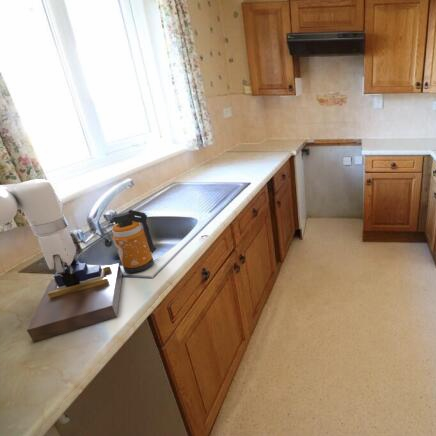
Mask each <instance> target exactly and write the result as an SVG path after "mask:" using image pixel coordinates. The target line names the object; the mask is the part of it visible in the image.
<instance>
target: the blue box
mask: <svg viewBox="0 0 436 436" xmlns="http://www.w3.org/2000/svg"><path fill="white" fill-rule="evenodd" d="M77 264H78V263H77ZM101 267H102V265H101V264H98V265H95V266H90V267H88V265H87V263H86V262H83V263H79V264H78V265H74V266H72V269H73V272H75V273H76V275H77V277H78V280H79V282H80V284H82V283H86V282H90V281H93V280H97V279H101V278H104V273H105V272H104V269H102V268H101ZM64 269H68V267H66V268H65V267H64ZM68 270H69V269H68ZM53 279H55V280H56V282H57V285H58V286H57V290H58V289H62V288H66V286H65V283H64V281H63V279H62V277H61V276H60V274H58V273H57V270H55V274H54V275H53Z"/></svg>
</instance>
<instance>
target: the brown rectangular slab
mask: <svg viewBox="0 0 436 436" xmlns="http://www.w3.org/2000/svg"><path fill="white" fill-rule="evenodd" d="M101 268H102V269H104V272H105V273H104V278H101V279H97V280H93V281H90V282H86V283H82V284H78V285H74V286H70V287H66V288H62V289H58V290H57V286H58V285H57V282H56V280H55V278H53V279H50V281H49V282H48V285H47V287H46V289H45V291H44V293H43V296H42V297H41V300H40V301H39V303H38V305H37V308H36V310H35V313H33V316H32V318H31V320H30V322H29V324H28V326H27V329H26V332H27V333H28V335H29V337H30V338H31V340H32V342H33V343H37V342H39V341H42V340H46V339H49V338H53V337H56V336H59V335H63V334H66V333H69V332H73V331H76V330H80V329H83V328H85V327H89V326H92V325H96V324H99V323H101V322H106V321H109V320H112V319H116V318H118V312H119V310H118V309H119V305H120V304H119V302H120V295H121V287H122V279H123V271H122V268H121V265H120V263H119V262H118V263H114V264H107V265H104V266H101Z"/></svg>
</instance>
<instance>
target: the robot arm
mask: <svg viewBox="0 0 436 436" xmlns="http://www.w3.org/2000/svg"><path fill="white" fill-rule="evenodd" d="M18 210H21V211H22V212H23V214H24V216H25V219H26V221H27V223H28V225H29V227H30V229H31V231H32V233H33V236H35V237H37V241H38V245H39V247H40V250H41V253H42V255H43V259H44V260H45V263H46V265H47V267H48V269H49V270H54V269H56V271H57V273H58V274H60V276H61V277H62V279H63V281H64V283H65V286H66V287H70V286H74V285H78V284H80V282H79V280H78V277H77V275H76V273H75V272H73V269H72V266H74V265H78V264H80V263H79V261H78V259H77V257H76V253H77V248H76V245H75V242H74V241H73V238H72V236H71V234H70V232H69V230H68V228H69V227H70V225H69V223H68V220H67V218H66V216H65V214H64V211H63V209H62V207H61V203H60V202H59V199H58V197H57V195H56V193H55V190H54V188H53V185H52V184H51V182H50V181H49V180H47V179H43V178H40V179H39V178H37V179H29V180H25V181H22V182H19V183H9V184H0V226H1V225H5V224H7V223H9V222H11V221H12V220H14V218H15V217H16V215H17V213H18ZM66 267H68V269H69V270H68V269H64V268H66Z"/></svg>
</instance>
